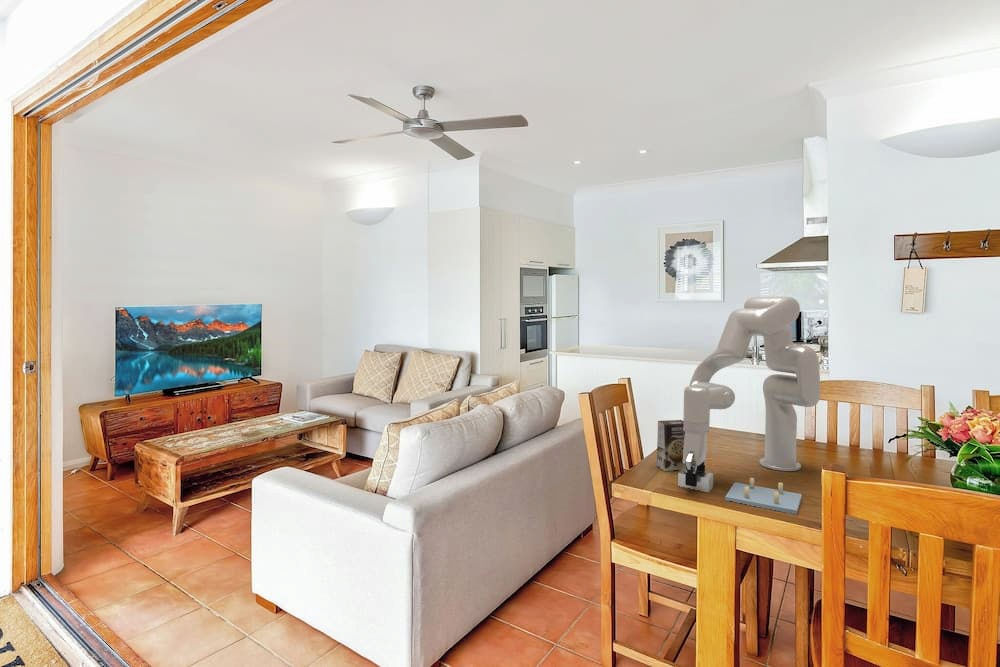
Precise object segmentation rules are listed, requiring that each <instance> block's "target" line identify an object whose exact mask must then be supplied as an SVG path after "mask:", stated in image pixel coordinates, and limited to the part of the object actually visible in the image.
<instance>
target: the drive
mask: <svg viewBox="0 0 1000 667" xmlns="http://www.w3.org/2000/svg"><path fill="white" fill-rule="evenodd" d="M696 473H697V486H696V487H693V486H688V485H686V484H685V475H686V468H683V469H682V470H679V472H678V474H677V475H678V476H677V486H680V487H679V488H683V487H684V488H683V489H688V488H690V490H693V489H695V490H694V491H698V490H700V492H703V491H704V492H705V493H709V492H710V491H712V489H713V488H714V473H712V472H708V471H705V472H703V471H697V470H696Z"/></svg>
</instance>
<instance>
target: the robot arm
mask: <svg viewBox="0 0 1000 667" xmlns="http://www.w3.org/2000/svg"><path fill="white" fill-rule="evenodd" d="M800 306H801V305H800V304H799V302H798V300H797V299H796V298H793V297H791V296H768V295H767V296H754V297H750V298H748V299H747V300H745V302H744V305H743V308H737V309H734V310H732V311H731V313H730V314H729V316H728V319H727V321H726V324H725V326H724V328H723V332H722V333H721V336H720V339H719V341H718V344H717V347H716V349H715V350H714V351H713V352H712V353H711V354H709V355H708V356H706V358H704V359H703V361H701V362H700V363H699V364H698V366H696V368H695V370H694V372H693V375H692V376H691V377H692V378H691V380H690V381H689V385H688V386H686V387H685V388H684V390H683V419H682V421H683V431H685V437H684V447H683V463H684V464H686V475H685V484H686V485H688V486H693V487H696V486H697V473H696V470H697V471H703V472H706V459H707V435H708V434H709V433H710V421H711V420H710V419H711V418H710V416H711V415H710V414H711V412H710V411H711V410H727V409H728V408H730V407H731V406H733V404H735V402H736V401H735V400H736V395H735V392H734V391H733V389H732V388H730V387H729V386H727V385H724V384H718V383H714V382H711V379H712V378H713V377H714V375H715V374H716V373H717V372H719V371H721V370H722V369H724V368H727V367H729V366H730V367H731V366H732V365H735V364H738V363H741V362H742V361H744V359H745V357H746V354H747V353H748V352H747V351H748V348H749V346H750V343H751V341H752V338H753V336H756V337H757V336H758V337H763V346H764V347H763V348H764V359H765V364H766V367H767V368H768V369H769V370H771V371H775V372H779V373H775V374H771V375H768V376H767V377H766V378H765V379H764V381H763V384H762V392H763V393H762V394H763V398H764V403H765V425H764V426H765V427H764V428H765V429H764V431H765V433H764V457H761V458H759V464H760V465H761V466H762V467H764V468H767V469H771V470H775V471H781V472H795V471H800V470H801V469H802V465H801V463H800V462H798V461H797V433H798V432H797V431H798V430H797V429H798V426H797V425H798V417H797V416H798V415H797V412H796V410H795V407H794V406H797V407H804V408H812V407H815V406H816V405H817V404H818V403H819V401H820V399H821V392H822V390H821V388H822V386H821V374H820V373H821V372H820V363H819V362H820V361H819V357H818V354H817V352H816V350H814V348H812V347H811V346H808V345H800V344H794V341H793V335H792V329H791V326H790V325H791V324H793V323H794V322H795V321H796V320H797V319H798V317H799V315H800V312H801V307H800ZM780 373H781V374H780ZM783 373H786V374H783ZM789 374H793V375H789ZM794 374H795V375H794Z"/></svg>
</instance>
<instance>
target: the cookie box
mask: <svg viewBox="0 0 1000 667" xmlns="http://www.w3.org/2000/svg"><path fill="white" fill-rule="evenodd" d="M684 437H685V431H683V419H672V420H671V419H668V420H667V419H666V420H657V441H656V442H657V444H656V447H657V448H656V451H657V452H656V466H657V467H658V466H659V467H660V468H659V467H658V468H659V469H661V470H662V469H663V470H662V471H663V472H673V470H679V471H681V470H682V469H683V468H686V464H684V463H683V447H684Z"/></svg>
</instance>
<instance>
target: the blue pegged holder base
mask: <svg viewBox="0 0 1000 667" xmlns="http://www.w3.org/2000/svg"><path fill="white" fill-rule="evenodd" d="M777 485H778V486H777V489H775V488H770V487H763V486H759V485H755V478H754V477H749V484H746V483H742V482H734V483H733V484H732V486H731V487H730V489H729V490H728V492H727V494H726V495H725V496H724V501H725V500H726V501H725V502H729V501H733V502H732V503H734V502H737V503H736V504H739V503H743V504H742V505H744V504H747V505H746V506H749V505H751V506H750V507H754V506H756V508H759V507H761V508H760V509H764V508H766V510H769V509H771V511H774V510H776V511H775V512H779V511H780V513H784V512H785V513H786V514H790V515H796V516H797V515H798V512H799V509H800V506H799V505H801V502H802V499H803V498H802V497H803V494H802V493H798V492H791V491H787V490H784V483H783V482H778V484H777ZM785 513H784V514H785Z"/></svg>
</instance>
